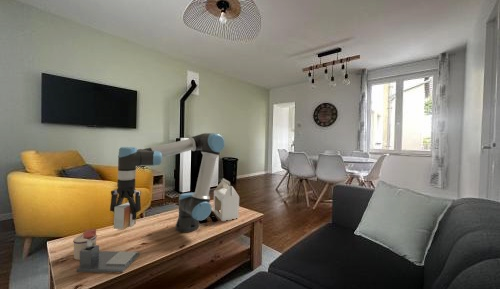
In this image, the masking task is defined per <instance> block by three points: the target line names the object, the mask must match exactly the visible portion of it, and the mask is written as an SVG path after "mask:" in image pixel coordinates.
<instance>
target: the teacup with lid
mask: <svg viewBox="0 0 500 289" xmlns="http://www.w3.org/2000/svg"><path fill="white" fill-rule="evenodd" d="M92 245H97V235H96V236H95V237H93V238H92ZM86 246H87V239H84V238H83V233H81V235H77V236H76V237H75V238H74V239H73V259H74V260H76V261H77V260H78V261H80V251H81V250H82V249H84V248H85V247H86Z"/></svg>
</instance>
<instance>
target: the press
mask: <svg viewBox="0 0 500 289" xmlns="http://www.w3.org/2000/svg"><path fill="white" fill-rule="evenodd" d="M139 256H140V251H121V250H120V251H118V250H117V251H115V250H113V251H111V250H110V251H109V250H100V245H97V244H96V245H92V249H91V250H87V246H86V247H85V248H84V249H82V250H81V251H80V260H79V266H78V267H76V272H77V273H106V274H107V272H108V273H109V272H123V271H124V270H125V269H126V268H127V267H128V268H129V267H130V265H131V264H132V263H134V261H135V260H136V259H138V257H139ZM126 270H127V269H126ZM126 270H125V271H126ZM125 271H124V272H125ZM124 272H123V273H124Z"/></svg>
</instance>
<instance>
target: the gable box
mask: <svg viewBox="0 0 500 289" xmlns="http://www.w3.org/2000/svg"><path fill="white" fill-rule="evenodd" d="M212 210H213V211H214V212H213V213H214V214H215V216H217V217H218V219H220V220H221V222H227V221H226V220H228V221H232V219H234V220H237V219H236V218H239V215H240V213H239V212H240V196H239V194H238V193H237V191H236V189H235V188H234V186H232V183H231V181H229V180H227V179H226V178H222V179H220V182H219V183H218V184H217V186H216V188H215V189H214V190H213V207H212ZM219 210H221V213H220V212H219Z"/></svg>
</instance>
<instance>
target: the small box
mask: <svg viewBox="0 0 500 289" xmlns="http://www.w3.org/2000/svg"><path fill="white" fill-rule="evenodd" d="M131 213H132V211H131V208H130V204H129V201H128V202H125V203H122V204H121V205H119V206H116V207H115V208H114V212H113V229H116V230H122V231H124V230H125V229H128V228H131V227H130V214H131ZM136 221H137V218H136V219H135V223H134V225H136V224H137V223H136Z"/></svg>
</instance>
